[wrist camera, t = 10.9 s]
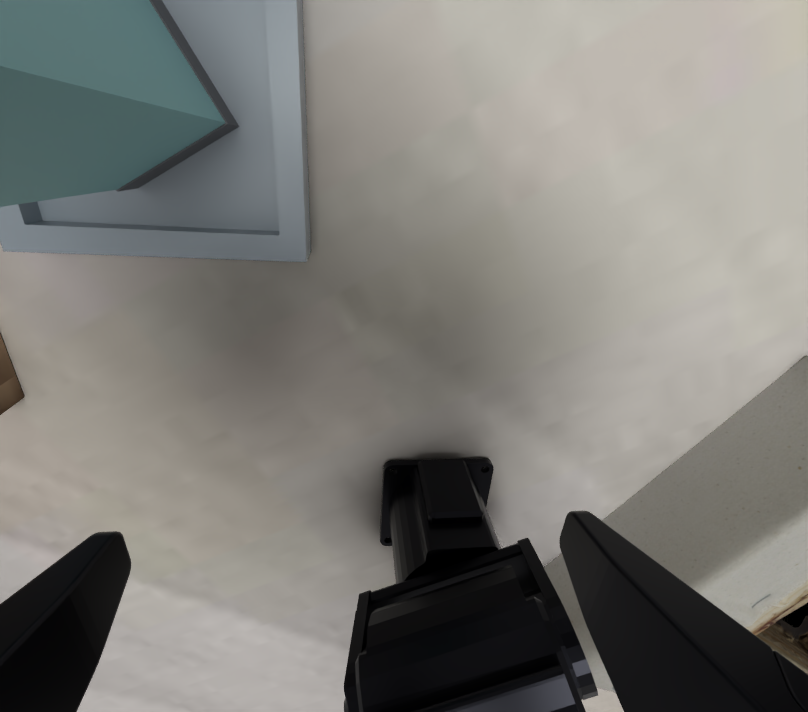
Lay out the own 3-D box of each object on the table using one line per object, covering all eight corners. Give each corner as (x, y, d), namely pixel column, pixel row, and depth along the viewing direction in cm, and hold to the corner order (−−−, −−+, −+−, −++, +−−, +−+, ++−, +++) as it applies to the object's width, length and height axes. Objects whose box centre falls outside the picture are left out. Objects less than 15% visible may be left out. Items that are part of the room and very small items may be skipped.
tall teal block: (239, 126, 15) (-20, 61, 5) (138, 188, 16) (-304, 258, 5) (150, -19, 13) (-658, -713, 3) (38, 57, 14) (-1023, -272, 3)
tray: (310, 251, 19) (306, 262, 17) (39, 241, 17) (3, 251, 15) (299, -80, 14) (292, -115, 12) (-76, -132, 12) (-147, -180, 11)
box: (518, 574, 31) (735, 684, 42) (567, 692, 24) (811, 787, 35) (785, 341, 25) (958, 541, 36) (953, 410, 18) (1104, 632, 29)
